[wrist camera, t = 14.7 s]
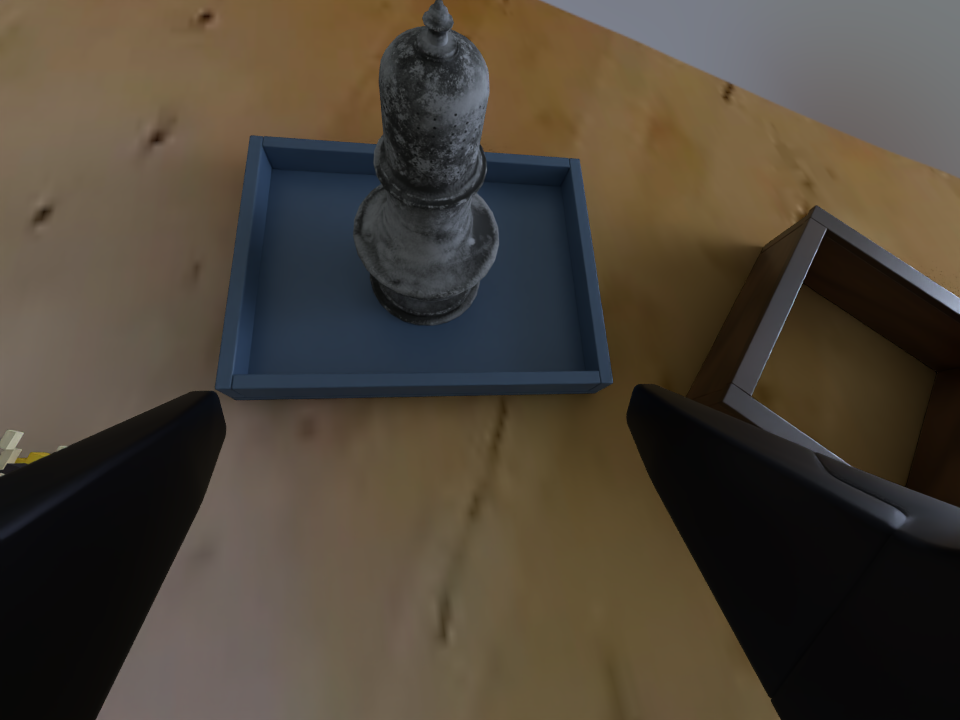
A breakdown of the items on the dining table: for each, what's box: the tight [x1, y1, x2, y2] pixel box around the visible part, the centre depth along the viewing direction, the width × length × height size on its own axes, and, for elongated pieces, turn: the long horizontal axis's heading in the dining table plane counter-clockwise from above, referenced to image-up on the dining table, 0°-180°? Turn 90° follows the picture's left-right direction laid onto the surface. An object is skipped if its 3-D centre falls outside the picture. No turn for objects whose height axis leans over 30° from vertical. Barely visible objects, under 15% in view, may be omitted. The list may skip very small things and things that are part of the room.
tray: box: [215, 135, 613, 400], centre depth 20 cm, size 16×12×2 cm
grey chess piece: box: [353, 0, 499, 326], centre depth 15 cm, size 6×6×12 cm
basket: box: [686, 205, 960, 508], centre depth 21 cm, size 13×13×4 cm
